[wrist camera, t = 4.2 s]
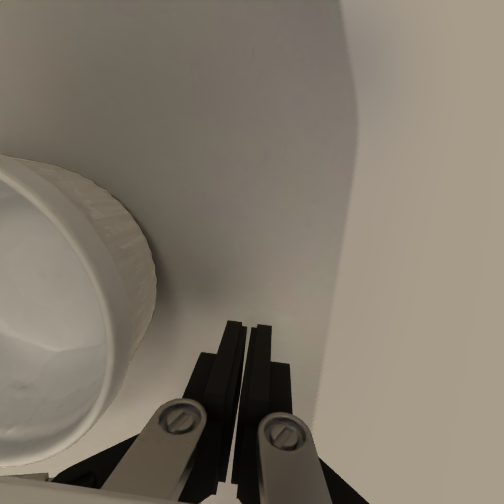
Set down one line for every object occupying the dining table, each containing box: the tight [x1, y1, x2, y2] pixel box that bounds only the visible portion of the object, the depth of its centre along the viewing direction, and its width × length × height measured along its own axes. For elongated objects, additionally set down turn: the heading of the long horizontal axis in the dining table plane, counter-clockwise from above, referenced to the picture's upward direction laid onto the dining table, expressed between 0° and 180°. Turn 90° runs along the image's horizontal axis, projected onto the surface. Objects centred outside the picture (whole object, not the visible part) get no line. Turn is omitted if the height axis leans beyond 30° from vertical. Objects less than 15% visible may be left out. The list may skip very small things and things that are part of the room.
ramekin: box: [0, 154, 157, 468], centre depth 15 cm, size 13×13×7 cm
